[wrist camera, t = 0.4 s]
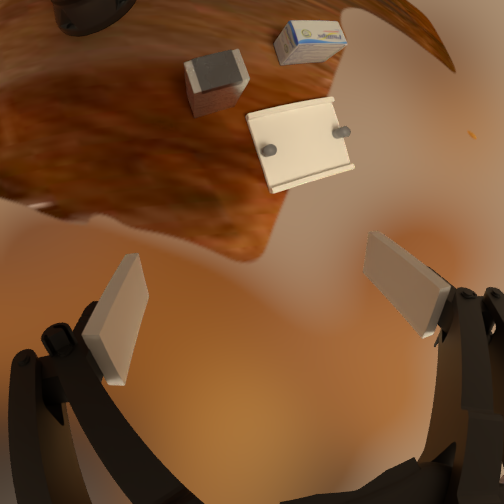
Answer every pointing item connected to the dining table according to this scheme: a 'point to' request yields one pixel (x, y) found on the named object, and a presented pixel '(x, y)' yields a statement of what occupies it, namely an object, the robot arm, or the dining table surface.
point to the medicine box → (309, 41)
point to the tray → (299, 143)
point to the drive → (215, 81)
